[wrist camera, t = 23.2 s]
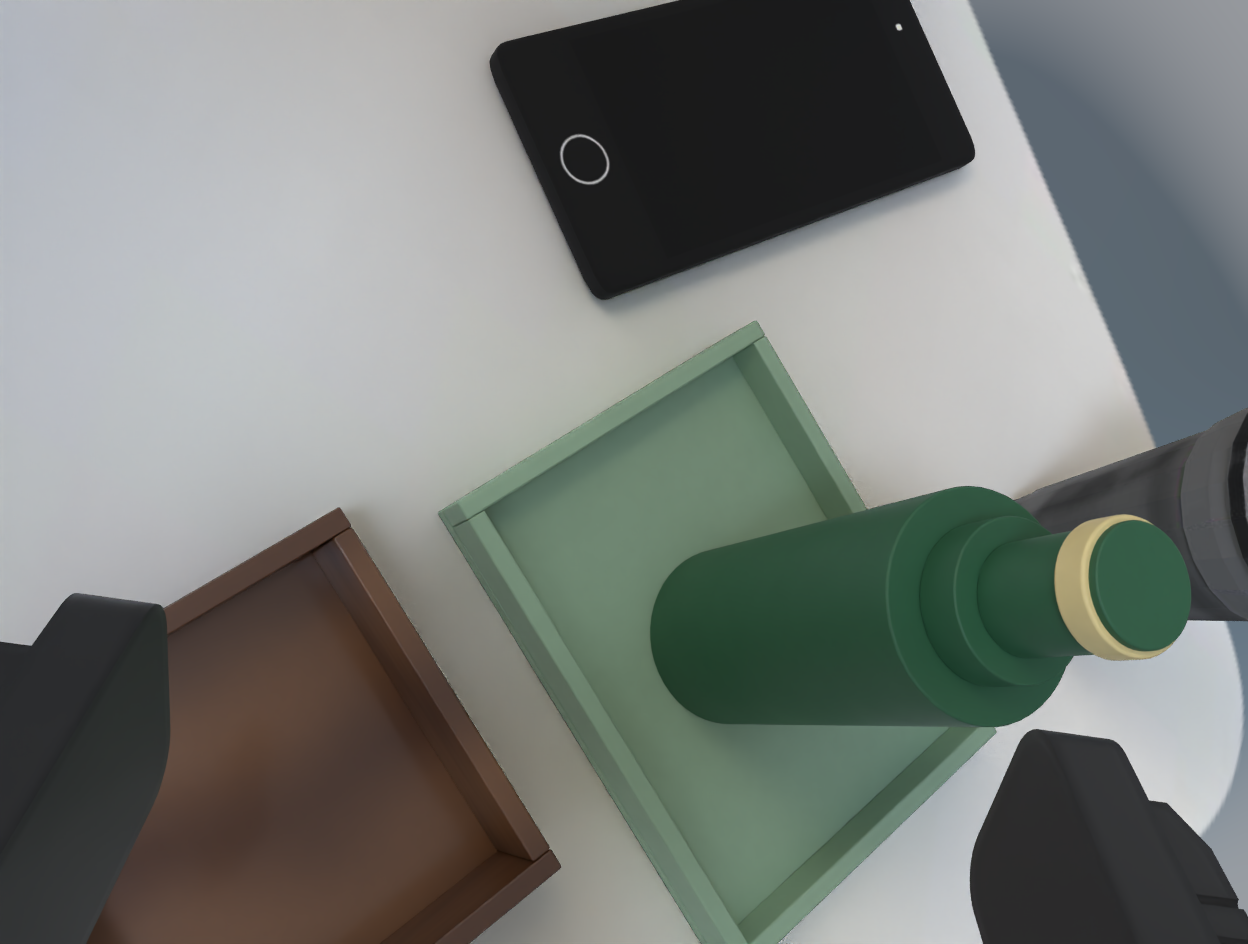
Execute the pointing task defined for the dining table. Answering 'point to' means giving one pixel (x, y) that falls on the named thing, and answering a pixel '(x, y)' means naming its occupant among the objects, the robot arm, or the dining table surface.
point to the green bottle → (913, 614)
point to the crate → (318, 772)
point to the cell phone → (724, 125)
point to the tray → (621, 648)
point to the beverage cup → (1174, 508)
